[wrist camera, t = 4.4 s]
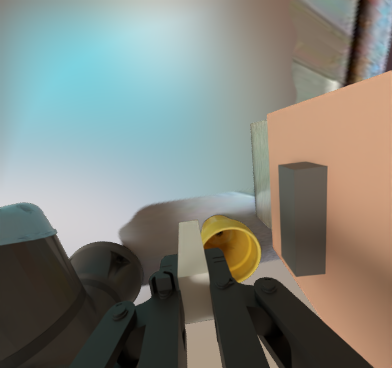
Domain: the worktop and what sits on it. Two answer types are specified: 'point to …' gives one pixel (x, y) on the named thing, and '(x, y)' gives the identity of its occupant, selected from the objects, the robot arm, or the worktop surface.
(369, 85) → the lid
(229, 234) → the plant pot
